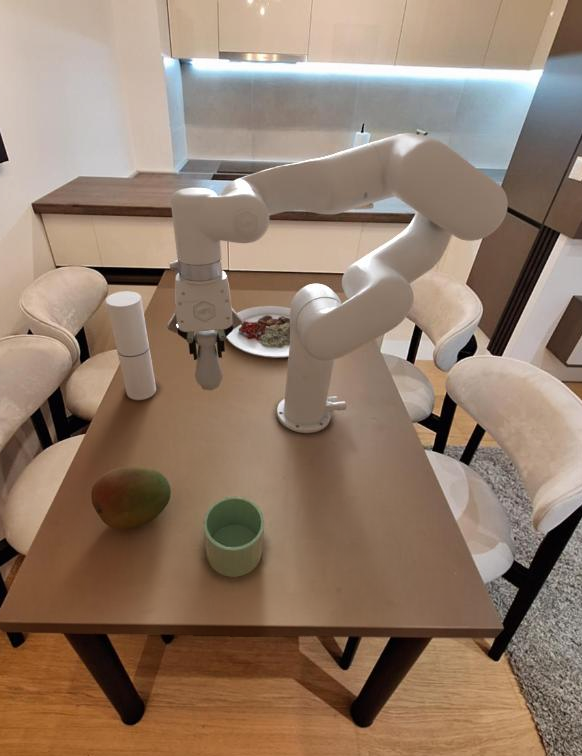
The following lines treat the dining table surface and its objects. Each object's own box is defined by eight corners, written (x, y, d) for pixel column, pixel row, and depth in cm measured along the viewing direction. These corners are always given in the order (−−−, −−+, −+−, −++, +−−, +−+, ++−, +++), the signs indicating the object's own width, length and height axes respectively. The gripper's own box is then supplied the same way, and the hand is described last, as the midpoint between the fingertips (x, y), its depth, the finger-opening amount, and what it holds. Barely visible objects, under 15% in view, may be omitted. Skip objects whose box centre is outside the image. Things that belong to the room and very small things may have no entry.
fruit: (89, 511, 72) (75, 475, 66) (149, 473, 79) (141, 437, 73) (122, 555, 66) (110, 520, 59) (184, 510, 73) (179, 474, 66)
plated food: (340, 350, 116) (342, 340, 114) (244, 370, 107) (244, 360, 105) (295, 305, 138) (296, 296, 136) (212, 319, 129) (211, 309, 127)
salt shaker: (218, 394, 82) (215, 341, 74) (192, 391, 83) (186, 337, 75) (226, 378, 87) (223, 326, 79) (201, 374, 88) (196, 322, 80)
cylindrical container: (126, 402, 96) (105, 307, 80) (126, 384, 101) (106, 292, 86) (157, 397, 97) (141, 304, 82) (155, 380, 103) (140, 289, 87)
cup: (257, 521, 71) (258, 493, 66) (266, 572, 64) (269, 545, 59) (204, 527, 70) (202, 500, 65) (208, 581, 63) (205, 554, 58)
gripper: (149, 279, 65) (164, 369, 77) (251, 273, 67) (251, 362, 79) (151, 262, 71) (165, 348, 82) (245, 257, 73) (246, 342, 85)
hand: (207, 354), depth 80 cm, fingers closed on salt shaker, 4 cm apart
